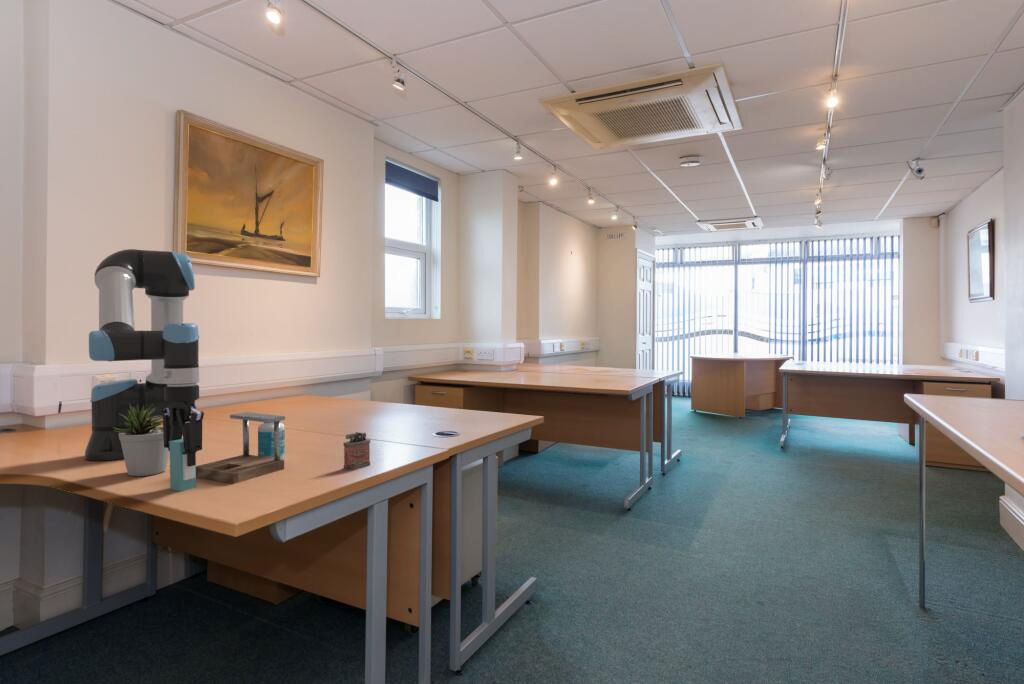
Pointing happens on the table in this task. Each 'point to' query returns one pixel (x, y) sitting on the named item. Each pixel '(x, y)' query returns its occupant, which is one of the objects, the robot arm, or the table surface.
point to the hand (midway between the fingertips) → (183, 477)
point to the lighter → (356, 451)
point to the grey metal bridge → (260, 418)
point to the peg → (179, 467)
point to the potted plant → (143, 444)
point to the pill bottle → (270, 440)
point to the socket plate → (238, 468)
